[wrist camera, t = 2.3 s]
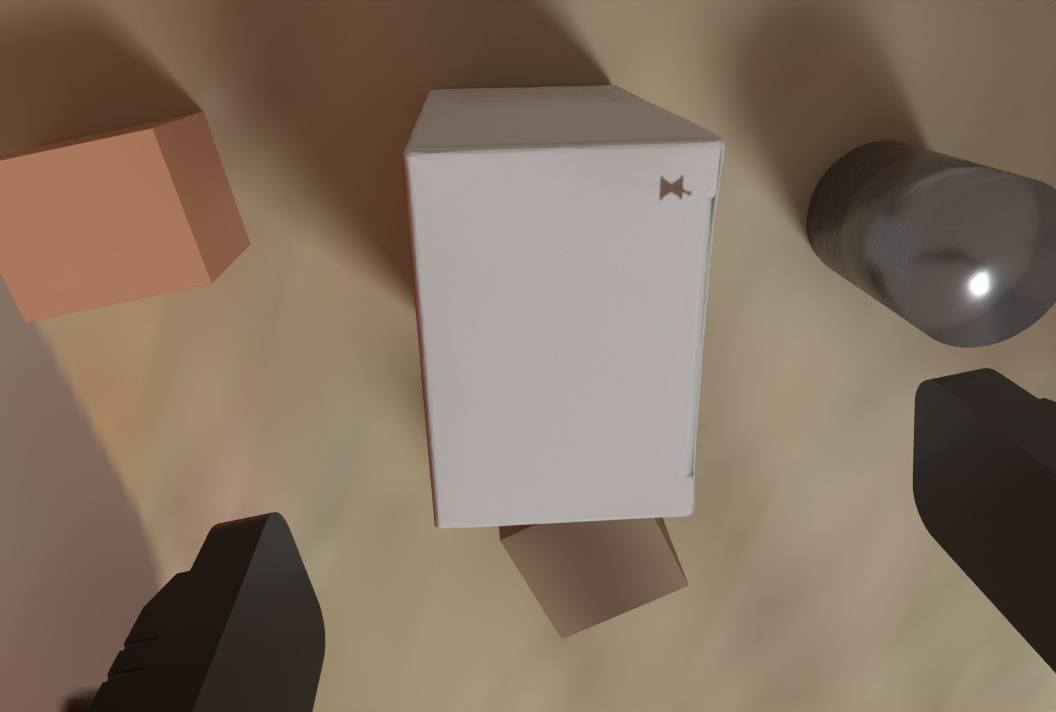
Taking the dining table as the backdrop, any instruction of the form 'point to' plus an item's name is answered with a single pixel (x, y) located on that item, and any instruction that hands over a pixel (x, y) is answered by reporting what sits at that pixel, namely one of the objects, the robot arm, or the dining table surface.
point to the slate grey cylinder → (939, 240)
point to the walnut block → (594, 567)
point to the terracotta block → (116, 217)
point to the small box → (559, 301)
